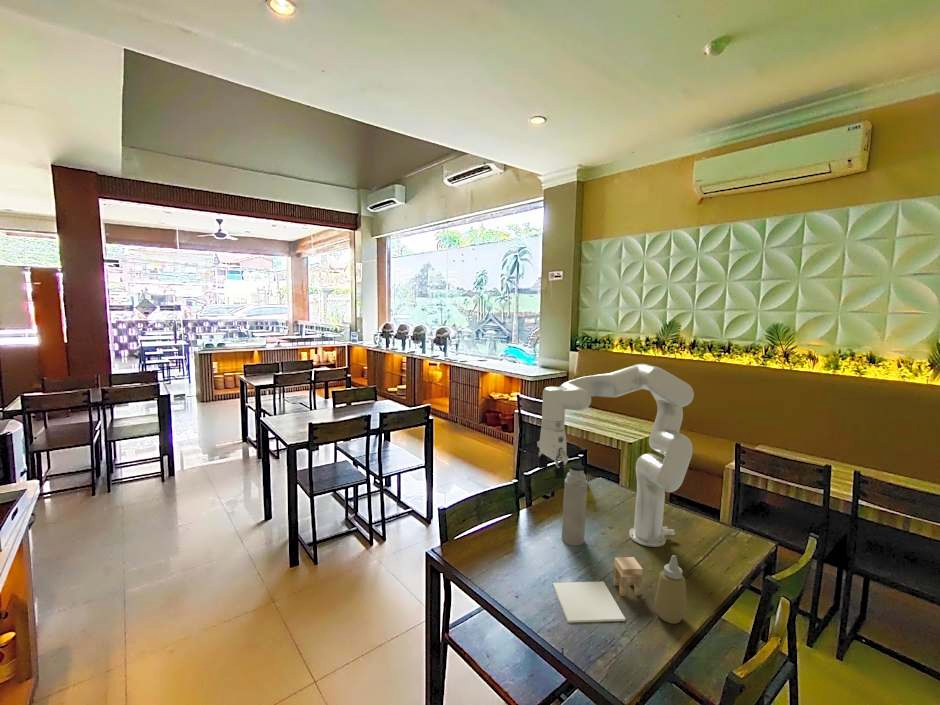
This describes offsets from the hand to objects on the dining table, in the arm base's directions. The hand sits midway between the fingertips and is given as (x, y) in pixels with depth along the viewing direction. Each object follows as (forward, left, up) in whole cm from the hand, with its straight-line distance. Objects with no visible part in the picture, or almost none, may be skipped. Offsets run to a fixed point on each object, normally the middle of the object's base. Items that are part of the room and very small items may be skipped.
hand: (550, 472), depth 151 cm
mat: (-5, +26, -28) cm, 39 cm away
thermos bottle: (-11, -7, -28) cm, 31 cm away
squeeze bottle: (-26, +33, -28) cm, 51 cm away
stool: (-19, +21, -28) cm, 40 cm away
